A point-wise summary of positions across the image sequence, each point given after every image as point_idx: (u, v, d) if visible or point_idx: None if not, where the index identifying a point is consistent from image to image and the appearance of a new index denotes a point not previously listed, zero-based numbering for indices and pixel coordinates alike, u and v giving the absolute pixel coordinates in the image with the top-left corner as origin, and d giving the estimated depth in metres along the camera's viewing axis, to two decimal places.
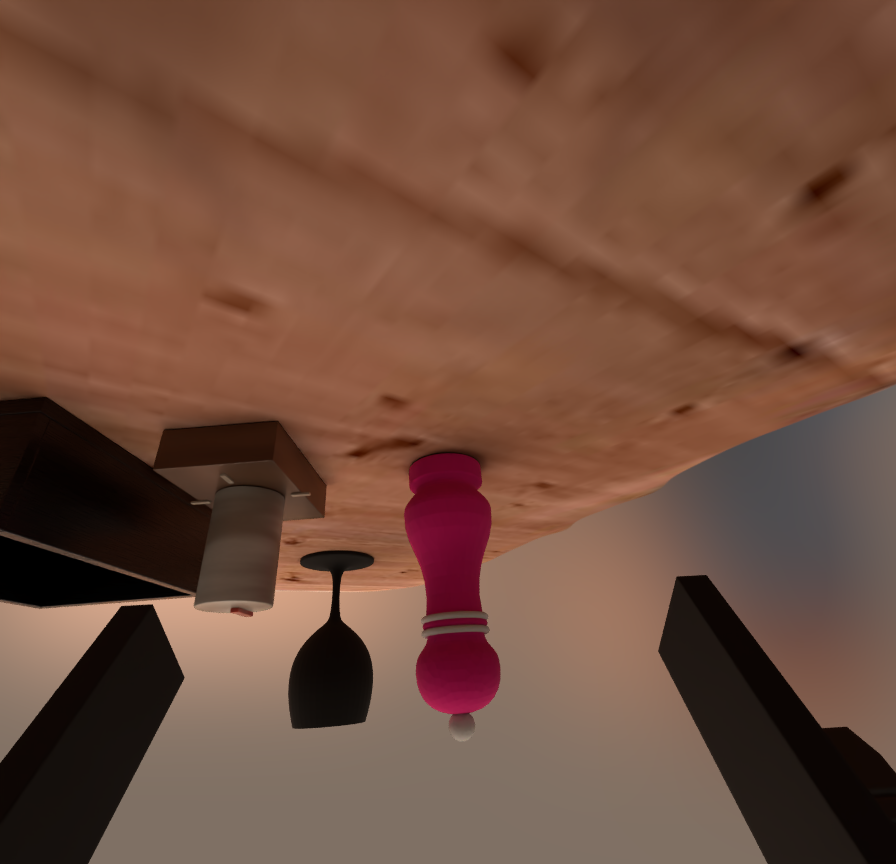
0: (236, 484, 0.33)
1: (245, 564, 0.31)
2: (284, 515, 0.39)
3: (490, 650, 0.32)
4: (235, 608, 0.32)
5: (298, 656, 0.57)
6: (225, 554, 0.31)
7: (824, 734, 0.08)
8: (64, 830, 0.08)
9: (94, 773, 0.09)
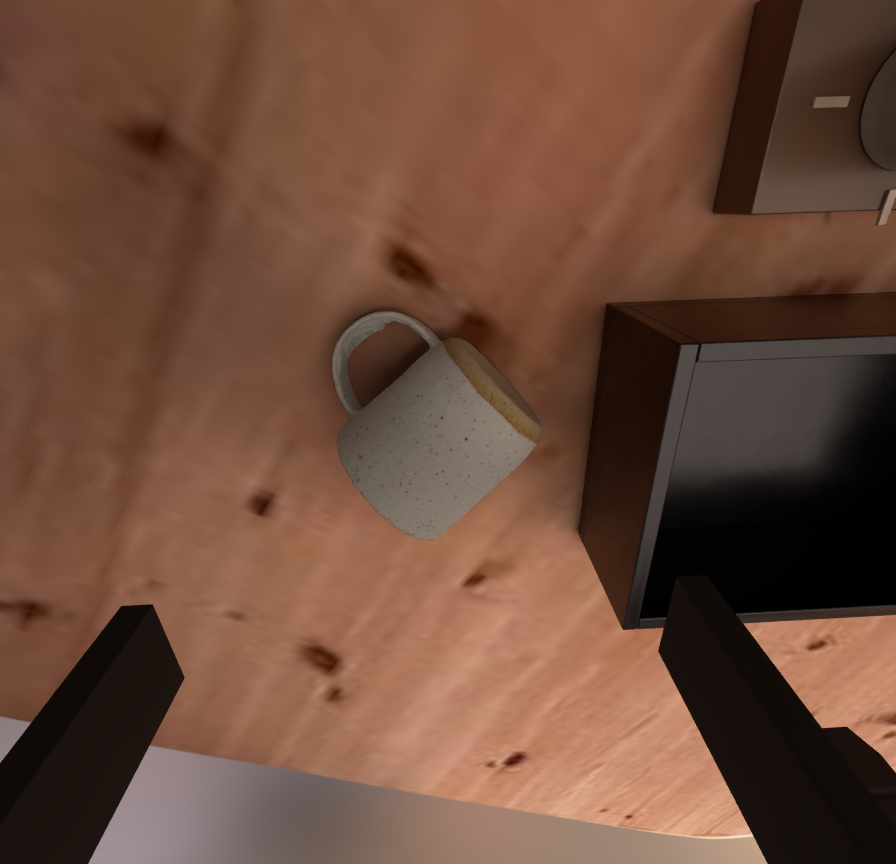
0: (860, 100, 0.18)
1: None
2: None
3: None
4: None
5: None
6: None
7: (824, 734, 0.08)
8: (65, 830, 0.08)
9: (94, 773, 0.09)
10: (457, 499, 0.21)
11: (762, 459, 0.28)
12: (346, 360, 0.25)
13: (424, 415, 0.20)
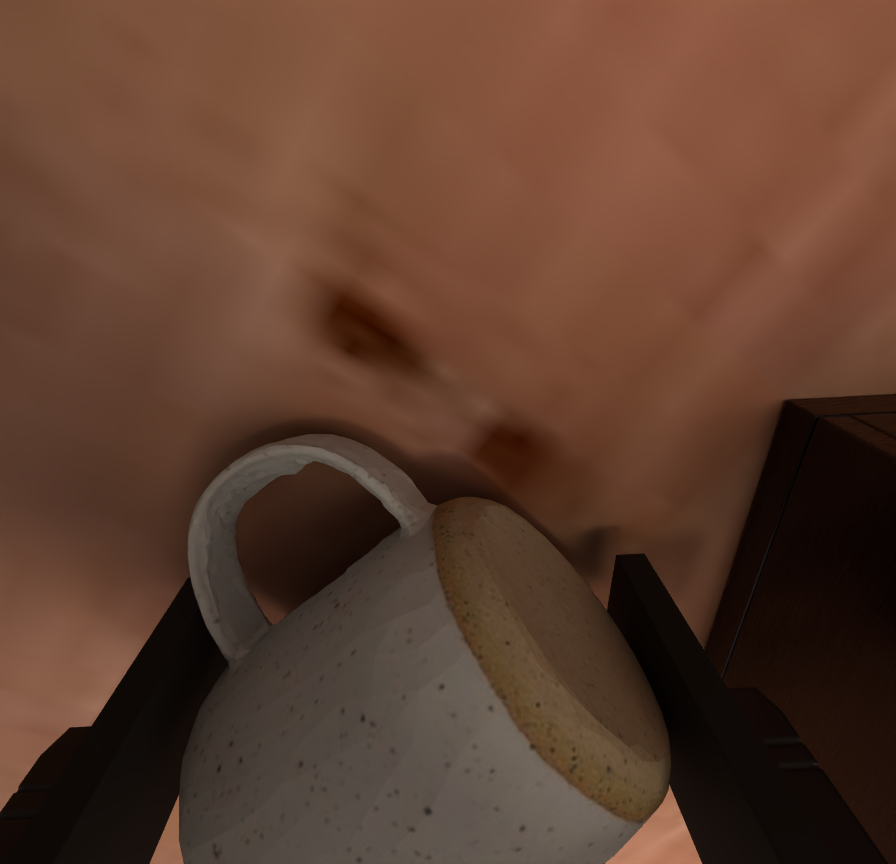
0: None
1: None
2: None
3: None
4: None
5: None
6: None
7: (726, 690, 0.09)
8: (157, 773, 0.09)
9: (177, 725, 0.10)
10: None
11: None
12: (228, 527, 0.12)
13: (378, 788, 0.07)
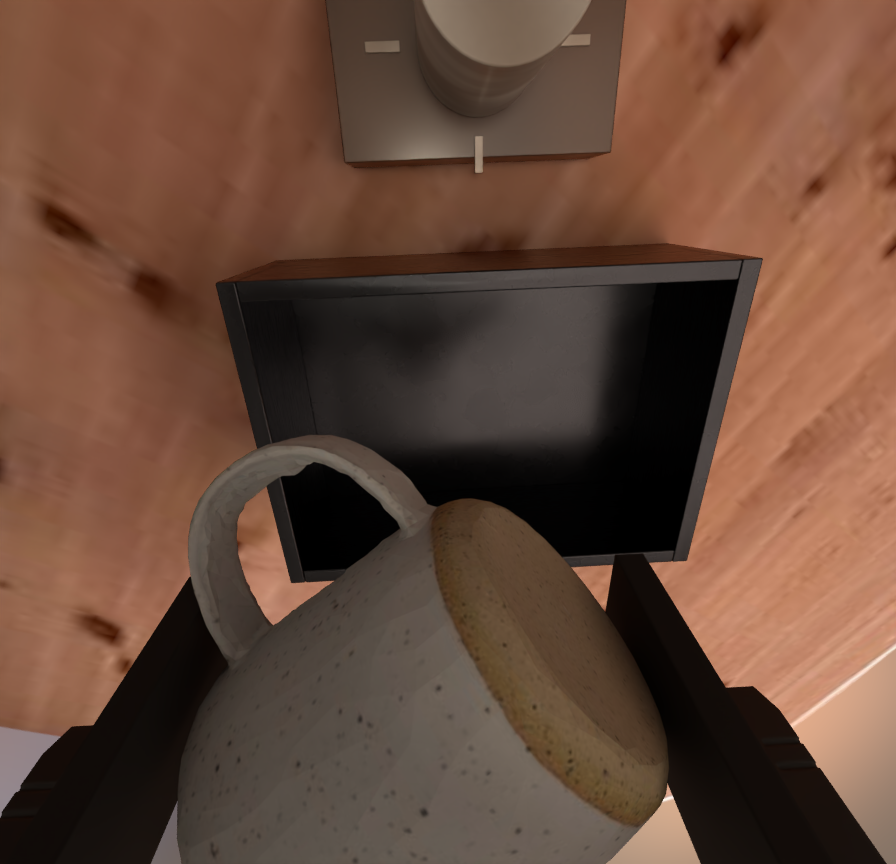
0: (414, 45, 0.19)
1: None
2: (591, 10, 0.18)
3: None
4: None
5: None
6: None
7: (724, 689, 0.09)
8: (158, 772, 0.09)
9: (178, 724, 0.10)
10: None
11: (473, 420, 0.28)
12: (229, 527, 0.12)
13: (374, 789, 0.07)
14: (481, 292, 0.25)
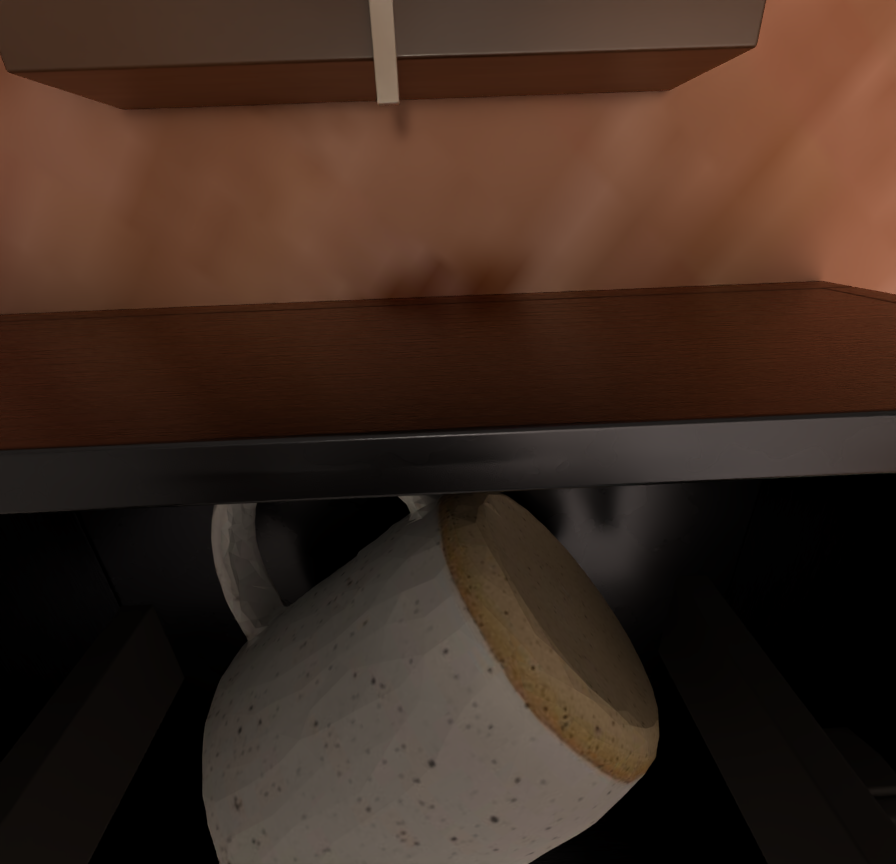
0: None
1: None
2: None
3: None
4: None
5: None
6: None
7: (824, 734, 0.08)
8: (65, 830, 0.08)
9: (94, 773, 0.09)
10: None
11: None
12: (248, 512, 0.12)
13: (386, 743, 0.08)
14: None
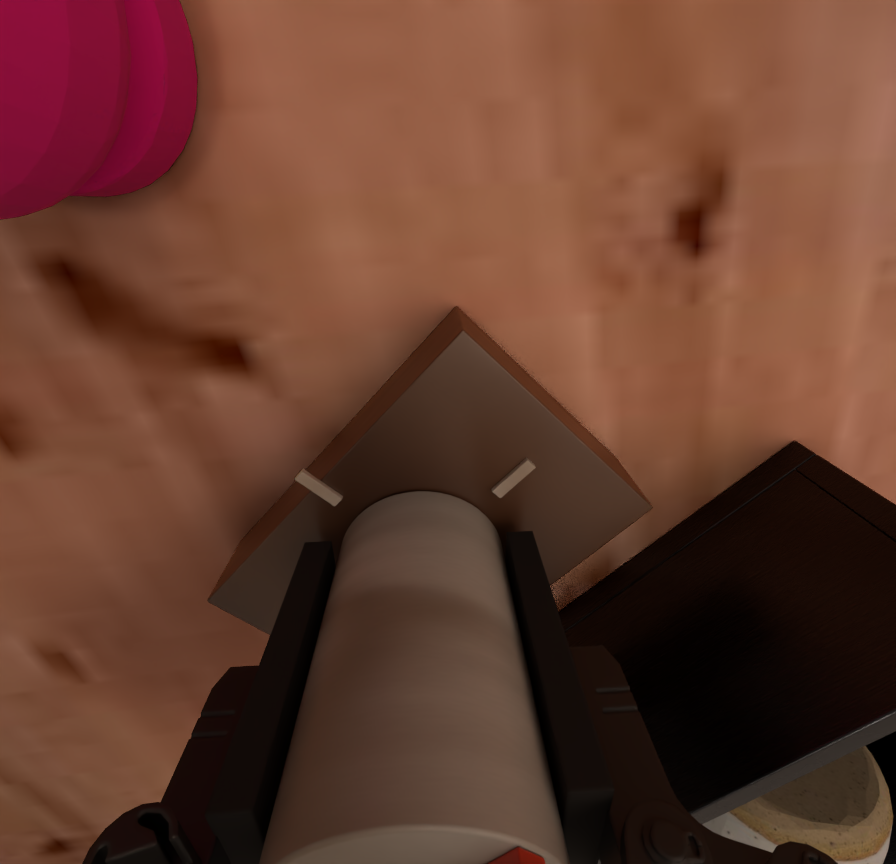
0: None
1: None
2: (507, 441, 0.13)
3: None
4: None
5: None
6: None
7: (566, 645, 0.10)
8: None
9: None
10: None
11: None
12: None
13: None
14: None
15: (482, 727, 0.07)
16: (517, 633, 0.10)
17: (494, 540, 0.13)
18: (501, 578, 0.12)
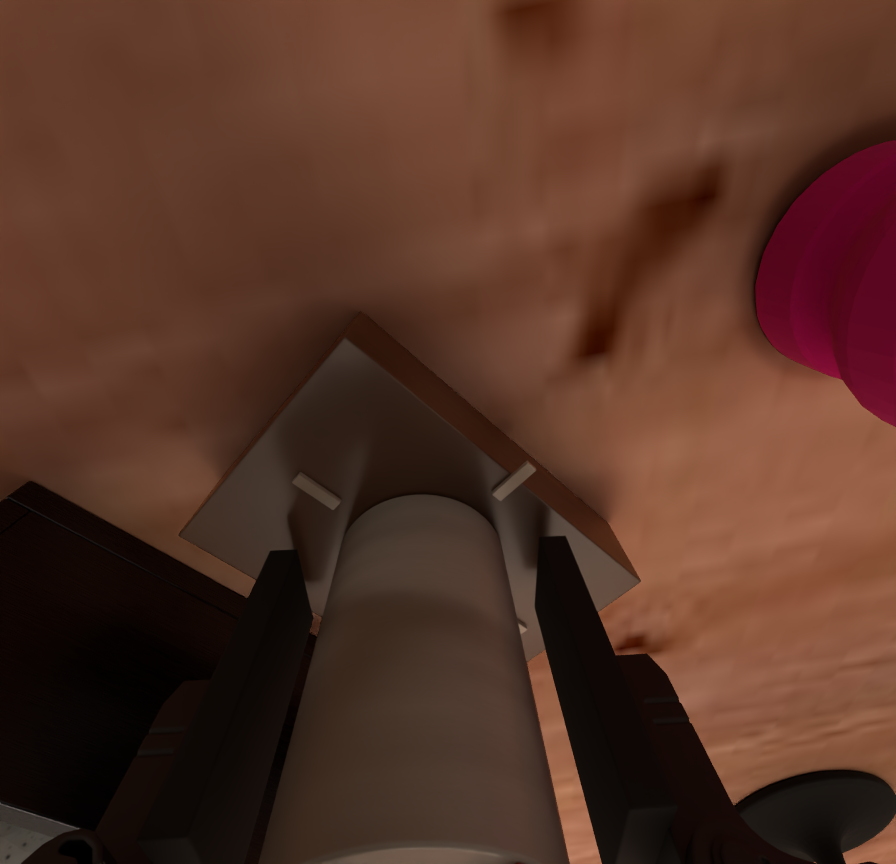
0: (355, 513, 0.13)
1: None
2: None
3: None
4: None
5: None
6: None
7: (612, 654, 0.09)
8: (264, 723, 0.10)
9: (275, 682, 0.11)
10: None
11: None
12: None
13: None
14: None
15: (481, 737, 0.07)
16: (517, 639, 0.10)
17: (494, 543, 0.13)
18: (501, 582, 0.11)
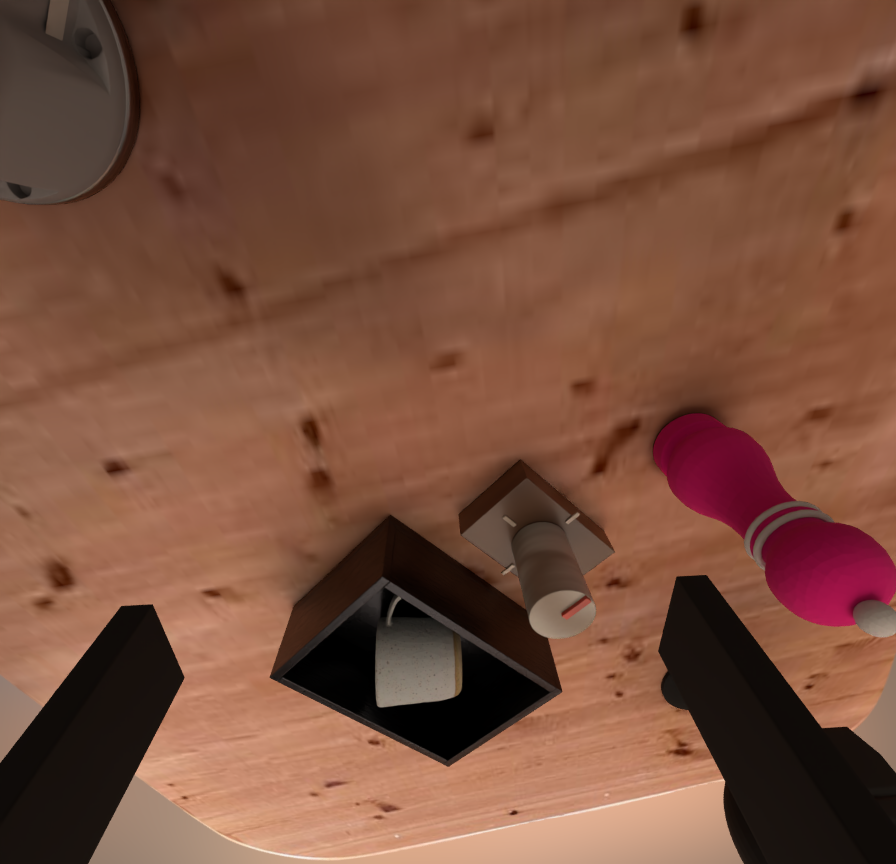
0: (519, 527, 0.40)
1: None
2: (579, 563, 0.42)
3: (839, 523, 0.26)
4: None
5: (724, 804, 0.44)
6: None
7: (824, 734, 0.08)
8: (65, 830, 0.08)
9: (94, 773, 0.09)
10: (409, 703, 0.42)
11: None
12: None
13: (428, 667, 0.41)
14: None
15: (575, 578, 0.34)
16: None
17: (566, 538, 0.40)
18: (571, 549, 0.38)
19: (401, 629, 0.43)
